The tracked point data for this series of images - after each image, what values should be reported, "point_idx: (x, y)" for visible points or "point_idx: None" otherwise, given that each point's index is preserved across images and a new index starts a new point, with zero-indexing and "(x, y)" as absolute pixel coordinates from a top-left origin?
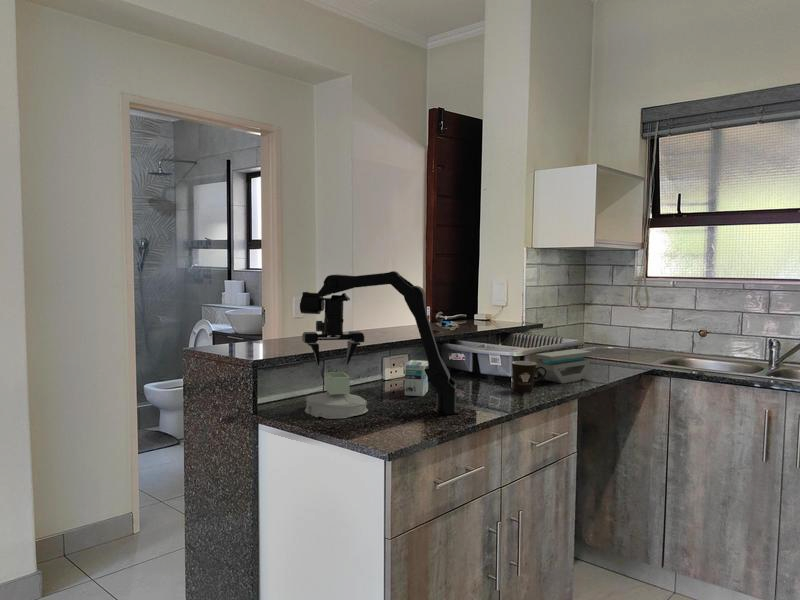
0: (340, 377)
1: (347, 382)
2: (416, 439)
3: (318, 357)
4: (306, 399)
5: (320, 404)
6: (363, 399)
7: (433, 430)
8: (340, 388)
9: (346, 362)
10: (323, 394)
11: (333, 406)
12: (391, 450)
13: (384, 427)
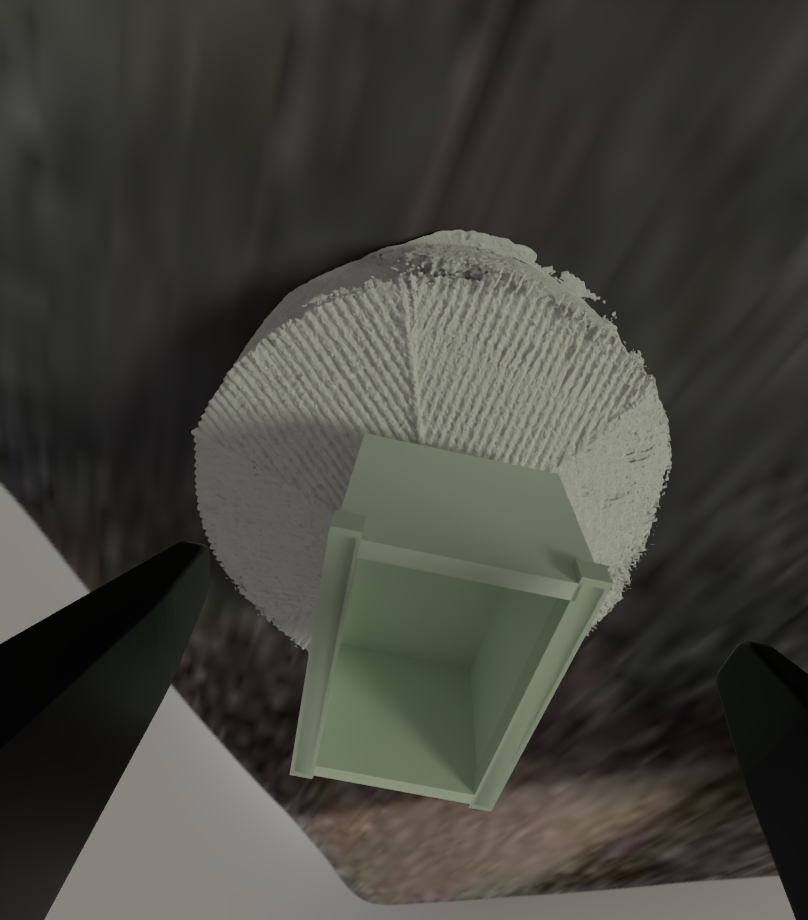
0: (401, 786)
1: (465, 752)
2: (511, 881)
3: (99, 773)
4: (196, 452)
5: (265, 607)
6: (605, 601)
7: (636, 855)
8: (406, 693)
9: (750, 670)
10: (324, 510)
11: None
12: (384, 901)
13: None
